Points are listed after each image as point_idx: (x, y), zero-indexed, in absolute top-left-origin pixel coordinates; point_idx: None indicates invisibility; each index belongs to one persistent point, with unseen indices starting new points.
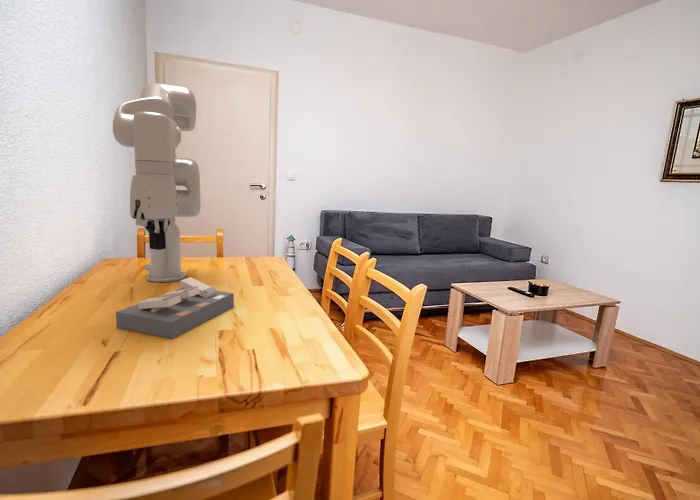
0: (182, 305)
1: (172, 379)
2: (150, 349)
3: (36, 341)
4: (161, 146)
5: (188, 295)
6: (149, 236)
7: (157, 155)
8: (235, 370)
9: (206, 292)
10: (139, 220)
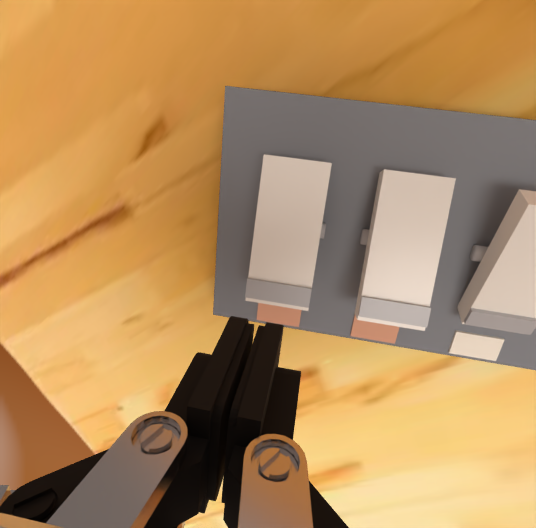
0: (356, 268)
1: (90, 372)
2: (164, 272)
3: None
4: None
5: (356, 311)
6: (204, 375)
7: None
8: None
9: (464, 321)
10: None
